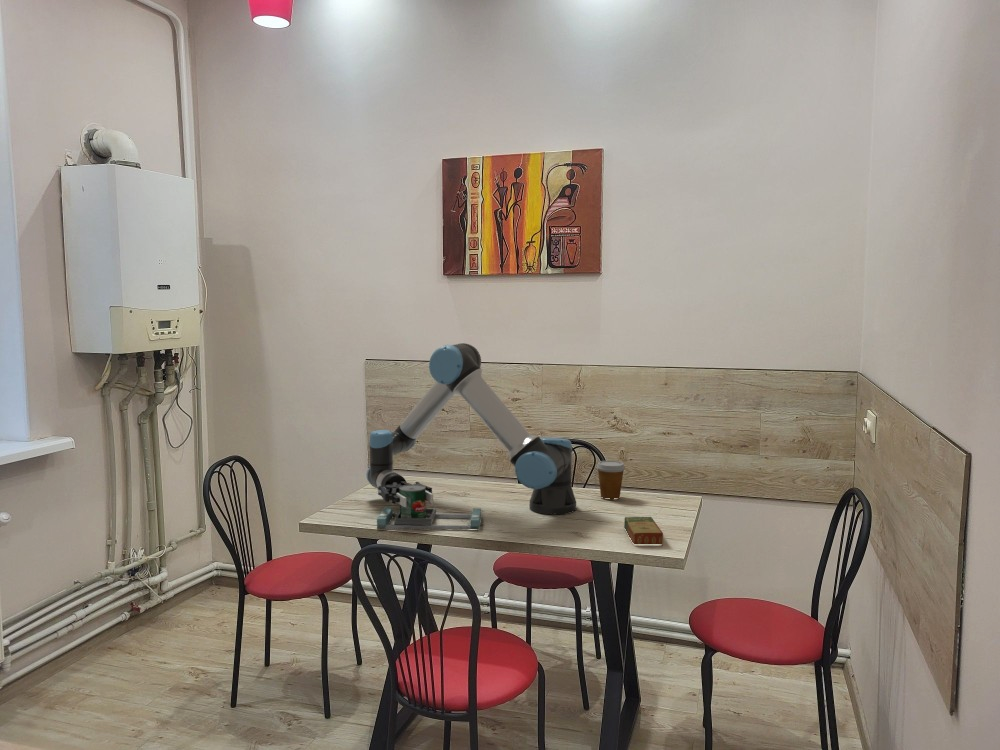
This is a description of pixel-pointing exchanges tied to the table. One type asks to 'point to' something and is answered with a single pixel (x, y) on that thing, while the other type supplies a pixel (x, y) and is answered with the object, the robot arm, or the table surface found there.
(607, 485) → the disposable coffee cup
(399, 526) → the rail
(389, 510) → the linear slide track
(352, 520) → the table surface
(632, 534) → the carton
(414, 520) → the carriage
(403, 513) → the canned tomato
